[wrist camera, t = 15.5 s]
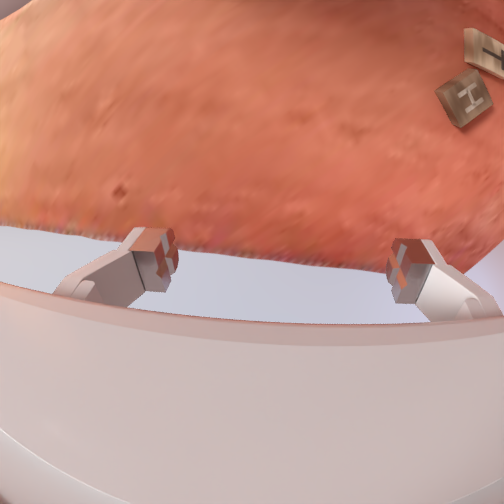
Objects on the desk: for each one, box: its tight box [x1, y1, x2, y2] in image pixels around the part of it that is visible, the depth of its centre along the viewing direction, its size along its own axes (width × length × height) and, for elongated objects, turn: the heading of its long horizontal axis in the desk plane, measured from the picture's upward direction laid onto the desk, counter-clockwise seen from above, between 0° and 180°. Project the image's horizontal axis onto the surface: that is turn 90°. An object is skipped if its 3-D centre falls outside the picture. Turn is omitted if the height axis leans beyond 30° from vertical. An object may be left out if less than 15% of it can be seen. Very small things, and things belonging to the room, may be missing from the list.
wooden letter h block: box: [435, 68, 493, 128], centre depth 27 cm, size 6×3×8 cm
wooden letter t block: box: [464, 28, 504, 79], centre depth 21 cm, size 6×3×8 cm
